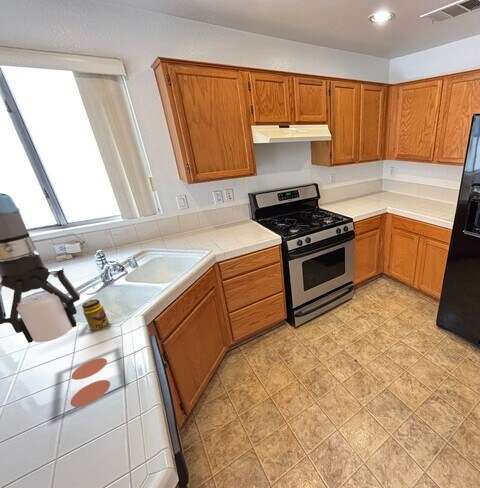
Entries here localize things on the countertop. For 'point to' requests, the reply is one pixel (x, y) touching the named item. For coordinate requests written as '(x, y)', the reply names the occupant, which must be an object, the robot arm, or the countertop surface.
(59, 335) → the white upturned tub
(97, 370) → the mat
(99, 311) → the condiment
